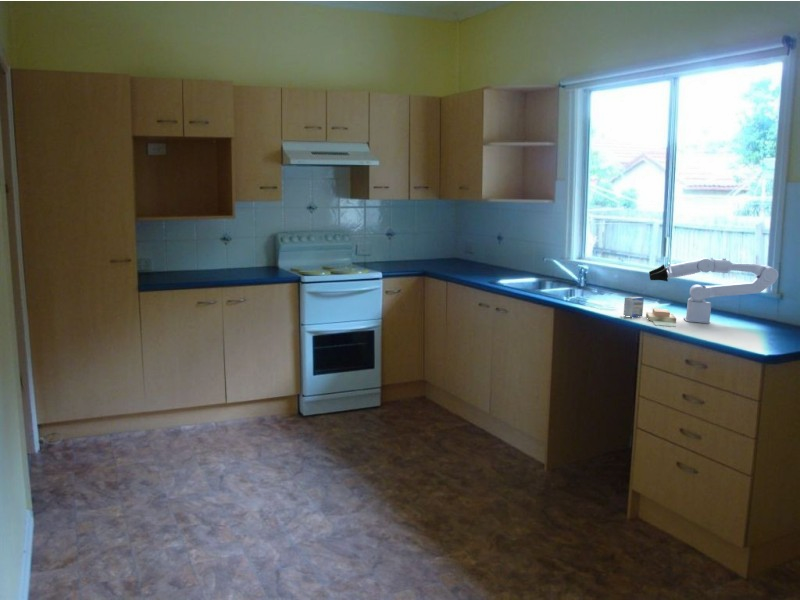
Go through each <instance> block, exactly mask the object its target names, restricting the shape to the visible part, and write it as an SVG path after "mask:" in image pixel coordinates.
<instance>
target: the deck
mask: <svg viewBox="0 0 800 600" xmlns="http://www.w3.org/2000/svg"><path fill="white" fill-rule="evenodd" d="M645 316H646V319H647V318H648V319H647V321H649V320H651V321H650V322H653V321H663V322H673V324H676V323H677V317H676V316H675V315H674V314H671V313H670V317H660V316H654V314H653V313H652V312H648V311H647V312H646V315H645Z"/></svg>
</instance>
